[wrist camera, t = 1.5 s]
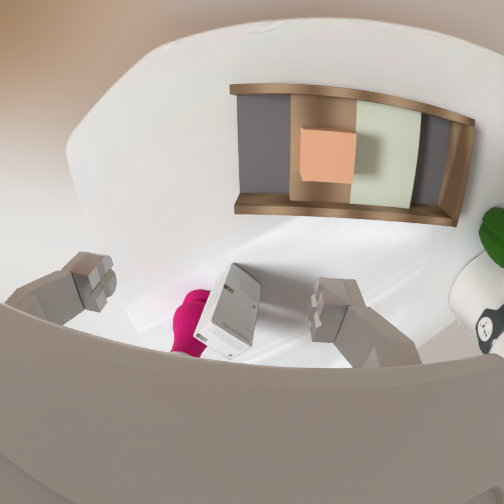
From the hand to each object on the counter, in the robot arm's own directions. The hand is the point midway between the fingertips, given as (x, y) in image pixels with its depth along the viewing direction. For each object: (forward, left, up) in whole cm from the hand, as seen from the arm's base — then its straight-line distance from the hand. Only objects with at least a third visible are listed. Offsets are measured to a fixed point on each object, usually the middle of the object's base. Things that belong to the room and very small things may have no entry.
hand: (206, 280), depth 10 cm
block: (-7, -2, -22) cm, 23 cm away
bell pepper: (-38, +6, -25) cm, 46 cm away
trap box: (-12, -2, -25) cm, 27 cm away
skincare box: (+3, +18, -25) cm, 31 cm away
